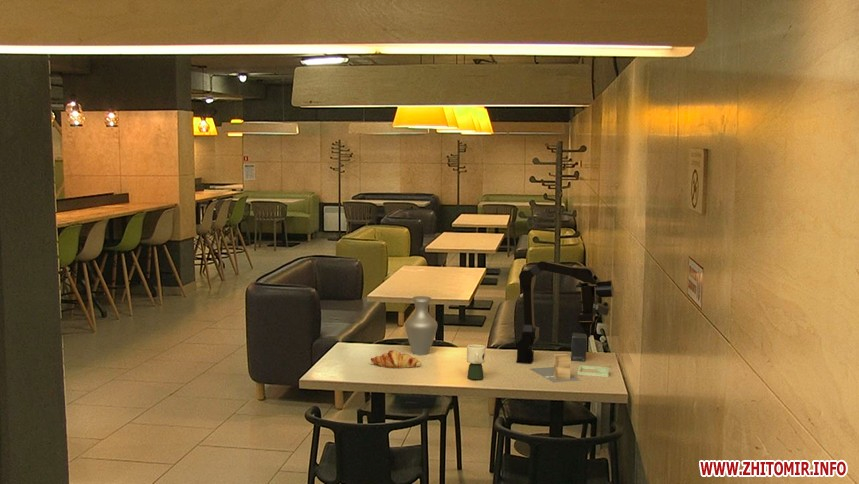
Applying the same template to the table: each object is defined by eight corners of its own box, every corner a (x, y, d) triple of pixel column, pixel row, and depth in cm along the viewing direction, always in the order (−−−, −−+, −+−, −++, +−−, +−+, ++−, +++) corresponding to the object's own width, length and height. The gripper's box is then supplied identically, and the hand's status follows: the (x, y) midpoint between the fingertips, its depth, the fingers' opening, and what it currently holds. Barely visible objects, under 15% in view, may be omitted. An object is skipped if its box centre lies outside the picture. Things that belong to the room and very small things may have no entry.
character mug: (485, 382, 324) (486, 349, 323) (467, 382, 324) (468, 349, 323) (483, 375, 335) (484, 343, 334) (465, 375, 335) (466, 343, 333)
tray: (577, 378, 334) (577, 371, 334) (578, 371, 346) (579, 365, 345) (608, 380, 331) (608, 374, 331) (608, 373, 343) (609, 367, 343)
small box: (585, 361, 362) (586, 337, 362) (570, 360, 364) (571, 337, 363) (586, 356, 373) (587, 333, 372) (571, 355, 374) (572, 332, 373)
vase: (436, 357, 364) (438, 300, 362) (403, 356, 364) (404, 299, 362) (437, 350, 378) (438, 295, 376) (405, 349, 378) (406, 294, 376)
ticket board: (528, 372, 342) (528, 368, 342) (555, 370, 345) (555, 366, 345) (553, 386, 321) (553, 381, 321) (581, 384, 325) (581, 380, 325)
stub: (553, 377, 328) (554, 354, 328) (565, 376, 330) (565, 353, 329) (558, 379, 325) (559, 356, 324) (569, 379, 326) (570, 356, 325)
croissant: (421, 373, 350) (423, 355, 353) (420, 367, 340) (422, 348, 343) (371, 370, 351) (372, 352, 354) (368, 364, 342) (370, 345, 345)
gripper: (603, 300, 336) (606, 339, 337) (611, 294, 353) (614, 330, 354) (576, 301, 340) (578, 339, 341) (585, 294, 357) (588, 331, 358)
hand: (590, 335), depth 348 cm, fingers open, 9 cm apart
